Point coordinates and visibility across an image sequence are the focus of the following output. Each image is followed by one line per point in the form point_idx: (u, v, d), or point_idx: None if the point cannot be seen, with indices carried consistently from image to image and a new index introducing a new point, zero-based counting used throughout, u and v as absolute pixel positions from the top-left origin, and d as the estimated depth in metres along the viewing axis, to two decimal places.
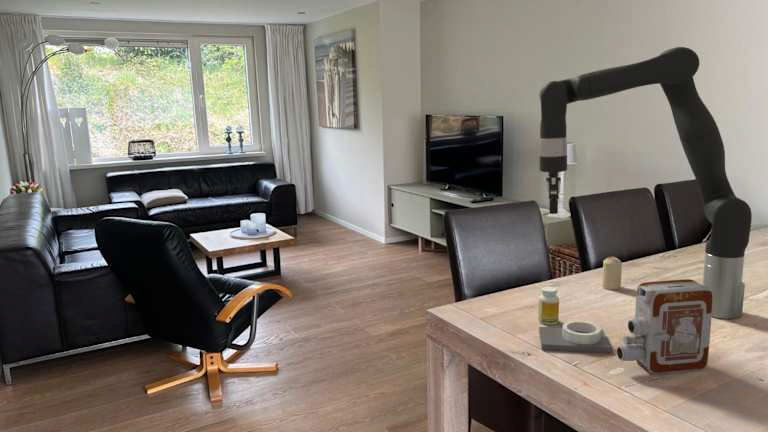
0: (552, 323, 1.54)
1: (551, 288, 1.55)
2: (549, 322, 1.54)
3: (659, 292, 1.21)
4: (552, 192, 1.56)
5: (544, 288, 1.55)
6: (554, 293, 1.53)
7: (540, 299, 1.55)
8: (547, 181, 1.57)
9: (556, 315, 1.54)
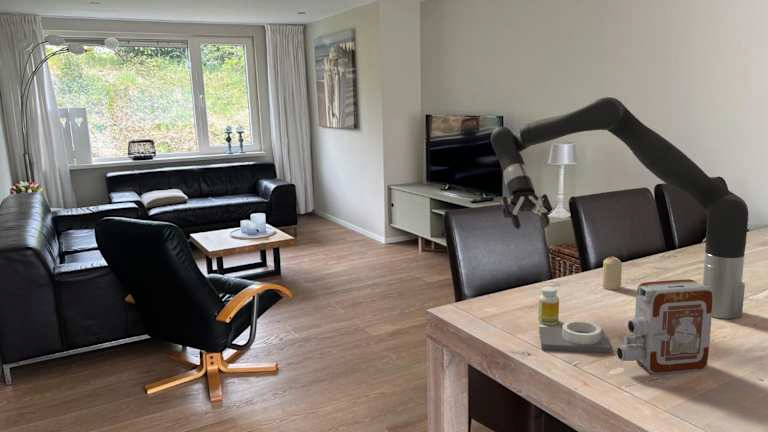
0: (552, 323, 1.54)
1: (551, 288, 1.55)
2: (549, 322, 1.54)
3: (659, 292, 1.21)
4: None
5: (544, 288, 1.55)
6: (554, 293, 1.53)
7: (540, 299, 1.55)
8: None
9: (556, 315, 1.54)
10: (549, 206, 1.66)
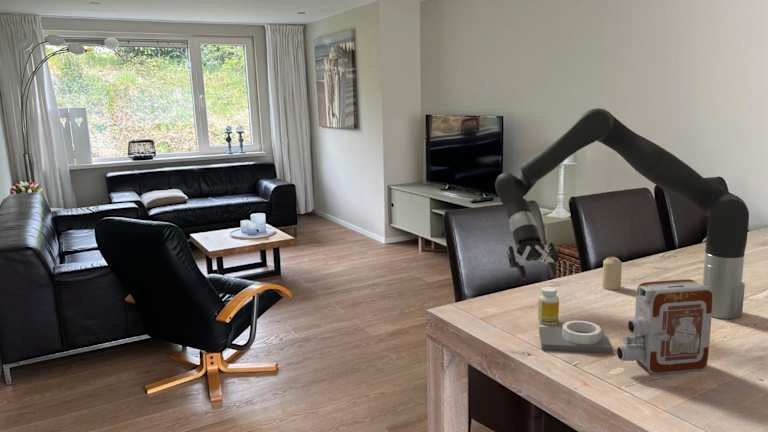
0: (552, 323, 1.54)
1: (551, 288, 1.55)
2: (549, 322, 1.54)
3: (659, 292, 1.21)
4: None
5: (544, 288, 1.55)
6: (554, 293, 1.53)
7: (540, 299, 1.55)
8: None
9: (556, 315, 1.54)
10: (556, 256, 1.64)
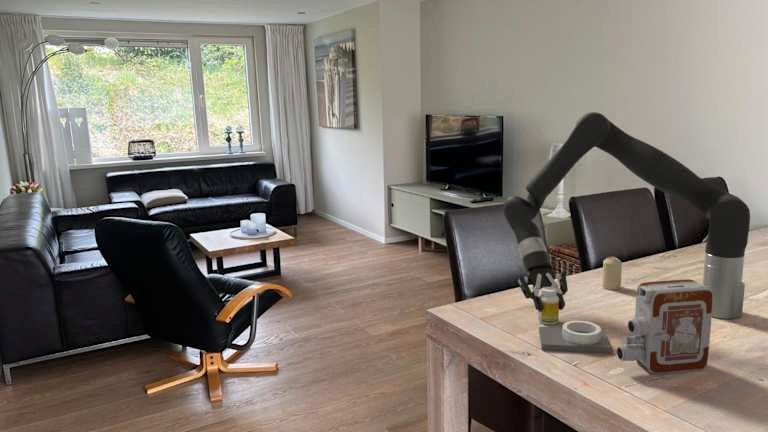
0: (552, 323, 1.54)
1: (551, 288, 1.55)
2: (549, 322, 1.54)
3: (659, 292, 1.21)
4: None
5: (544, 288, 1.55)
6: (554, 293, 1.53)
7: None
8: None
9: (556, 315, 1.54)
10: (565, 286, 1.57)
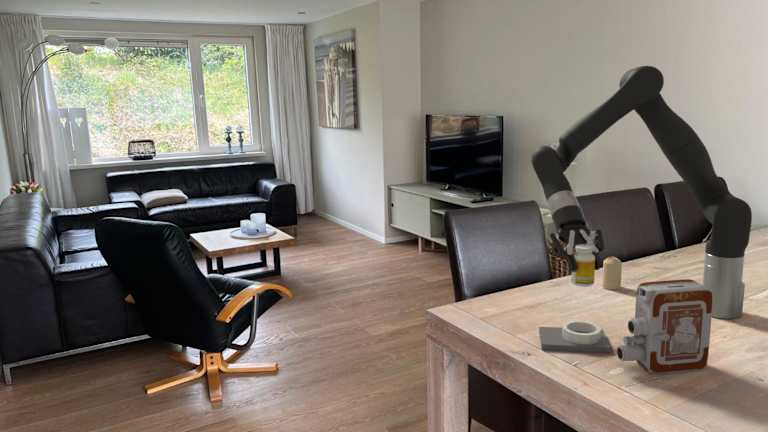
0: (587, 284, 1.37)
1: (586, 245, 1.38)
2: (584, 283, 1.37)
3: (659, 292, 1.21)
4: None
5: (578, 246, 1.38)
6: (590, 251, 1.36)
7: None
8: None
9: (592, 275, 1.37)
10: (601, 244, 1.40)
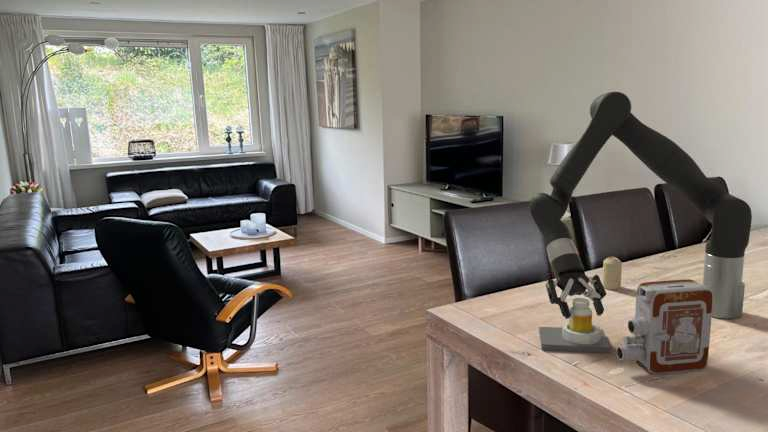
0: None
1: (583, 299, 1.41)
2: None
3: (659, 292, 1.21)
4: None
5: (575, 300, 1.41)
6: (587, 305, 1.39)
7: (571, 312, 1.41)
8: None
9: (589, 329, 1.40)
10: (602, 290, 1.43)
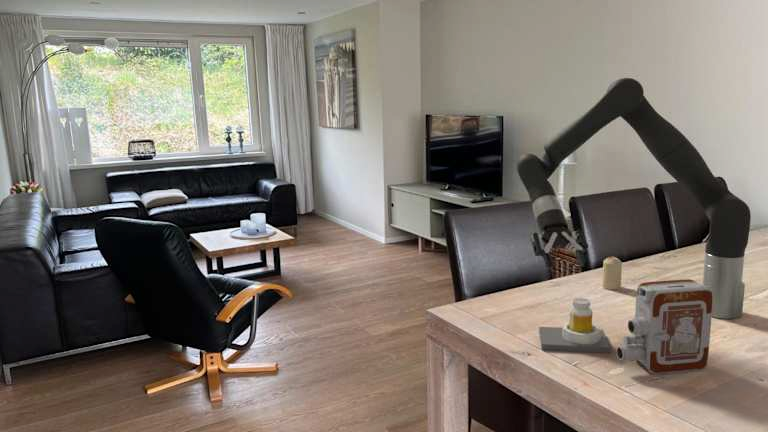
0: None
1: (583, 300, 1.41)
2: None
3: (659, 292, 1.21)
4: None
5: (576, 300, 1.41)
6: (587, 305, 1.39)
7: (571, 312, 1.41)
8: None
9: (589, 329, 1.40)
10: (584, 243, 1.50)
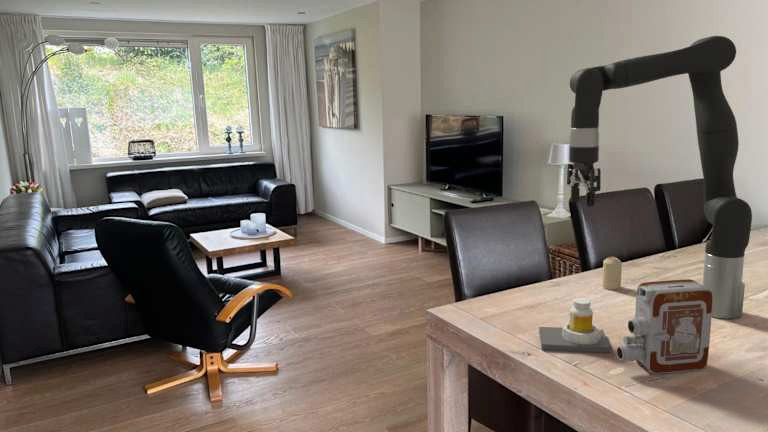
0: None
1: (584, 300, 1.41)
2: None
3: (659, 292, 1.21)
4: (588, 184, 1.50)
5: (576, 300, 1.41)
6: (588, 305, 1.39)
7: (572, 312, 1.40)
8: (581, 173, 1.51)
9: (589, 330, 1.40)
10: None
